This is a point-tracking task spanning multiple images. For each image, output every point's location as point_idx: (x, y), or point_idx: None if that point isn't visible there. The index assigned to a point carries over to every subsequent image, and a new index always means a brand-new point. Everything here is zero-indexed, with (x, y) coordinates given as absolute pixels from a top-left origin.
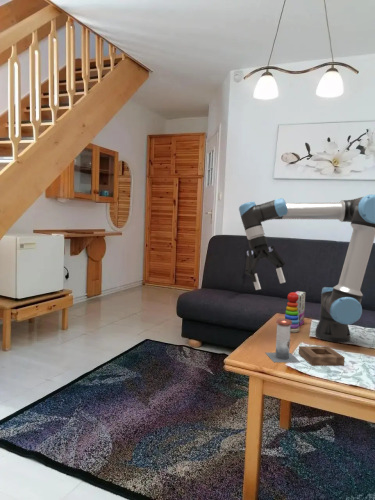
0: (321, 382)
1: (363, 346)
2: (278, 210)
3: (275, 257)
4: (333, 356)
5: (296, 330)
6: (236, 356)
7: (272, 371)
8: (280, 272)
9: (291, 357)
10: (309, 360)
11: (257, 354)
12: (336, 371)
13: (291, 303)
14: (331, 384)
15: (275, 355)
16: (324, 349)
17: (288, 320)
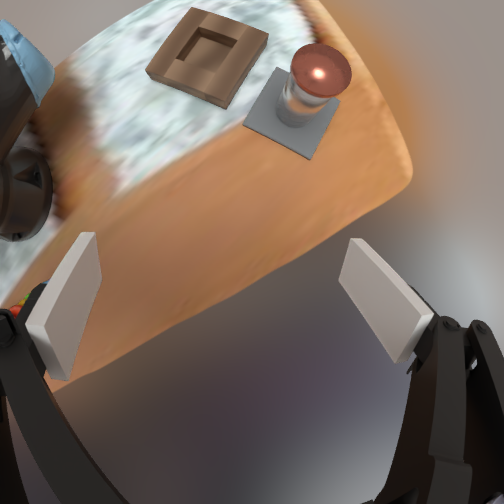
0: (317, 2)
1: None
2: None
3: (7, 482)
4: (211, 17)
5: None
6: (387, 187)
7: (372, 78)
8: (65, 299)
9: (271, 97)
10: (260, 50)
11: (330, 169)
12: (236, 11)
13: None
14: None
15: (309, 121)
16: (176, 59)
17: (306, 58)
